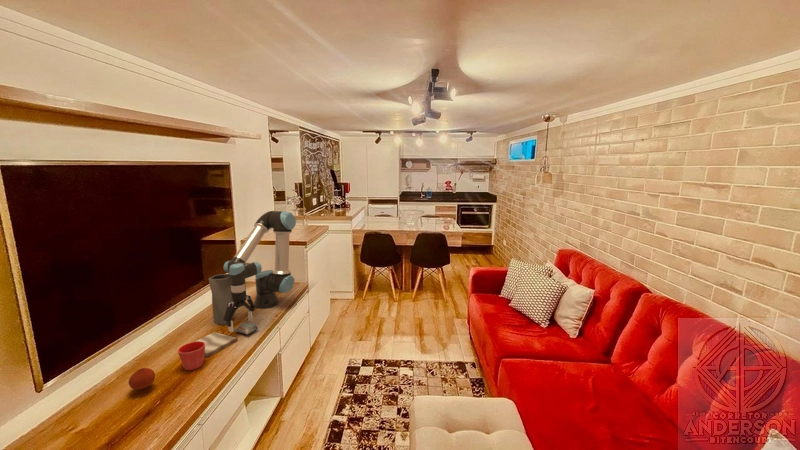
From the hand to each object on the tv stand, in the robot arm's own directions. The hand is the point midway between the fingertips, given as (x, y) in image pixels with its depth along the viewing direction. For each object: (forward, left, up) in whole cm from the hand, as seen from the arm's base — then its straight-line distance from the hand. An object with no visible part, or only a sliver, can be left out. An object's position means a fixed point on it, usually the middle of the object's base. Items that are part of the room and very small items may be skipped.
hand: (241, 326), depth 185 cm
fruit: (+52, +1, -4) cm, 52 cm away
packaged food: (+1, 0, -5) cm, 5 cm away
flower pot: (+33, +6, -4) cm, 34 cm away
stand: (+17, -3, -4) cm, 18 cm away
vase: (-4, -19, -4) cm, 20 cm away
